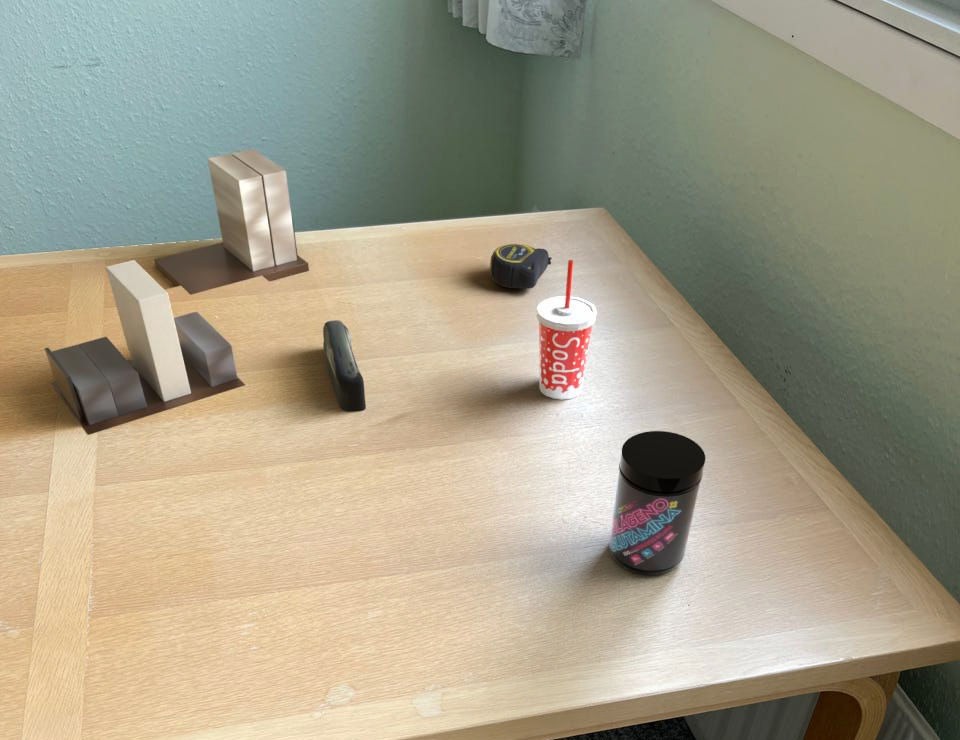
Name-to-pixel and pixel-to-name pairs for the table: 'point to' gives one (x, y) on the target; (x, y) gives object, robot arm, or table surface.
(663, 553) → the supplement container
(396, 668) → the table surface
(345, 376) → the black stapler
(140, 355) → the white book
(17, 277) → the table surface
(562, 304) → the beverage cup
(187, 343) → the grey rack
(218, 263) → the bookend with slabs
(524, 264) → the tape measure
